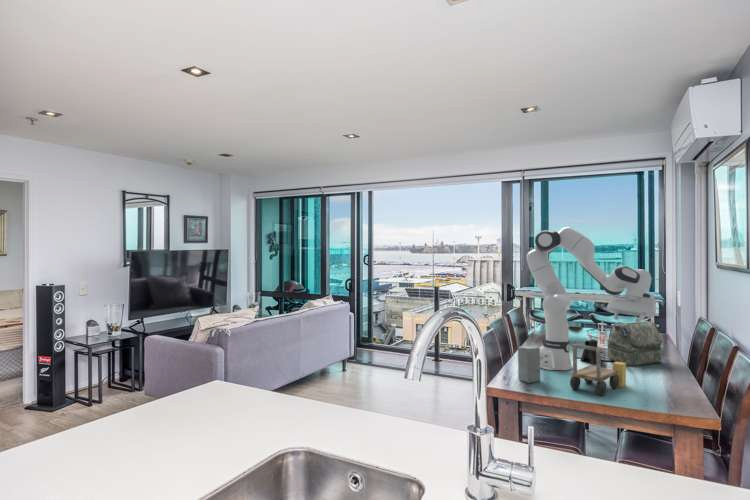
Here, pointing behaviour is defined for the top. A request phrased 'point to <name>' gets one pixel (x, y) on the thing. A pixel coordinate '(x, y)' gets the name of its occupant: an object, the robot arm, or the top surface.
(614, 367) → the yellow rectangular block
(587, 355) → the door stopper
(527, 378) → the gray hexagonal prism
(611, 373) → the trolley
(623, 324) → the lunch bag
